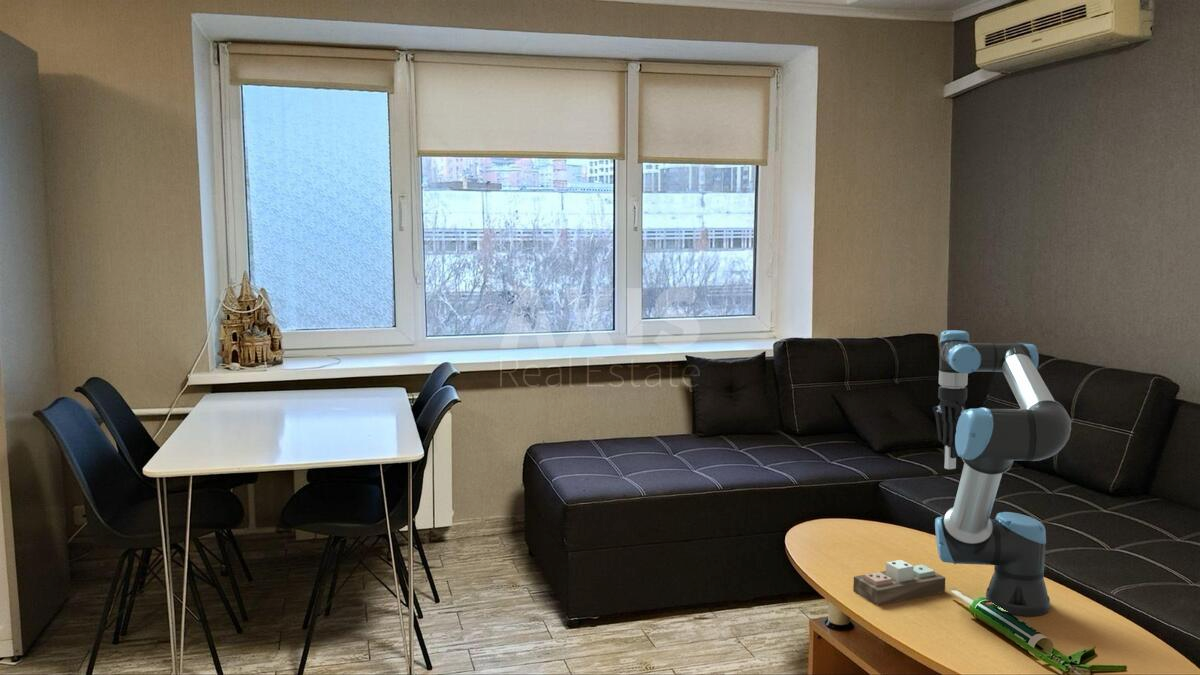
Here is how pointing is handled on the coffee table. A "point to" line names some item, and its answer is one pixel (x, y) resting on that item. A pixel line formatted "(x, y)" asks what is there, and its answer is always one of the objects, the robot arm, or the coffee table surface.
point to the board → (899, 588)
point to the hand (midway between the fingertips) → (950, 468)
